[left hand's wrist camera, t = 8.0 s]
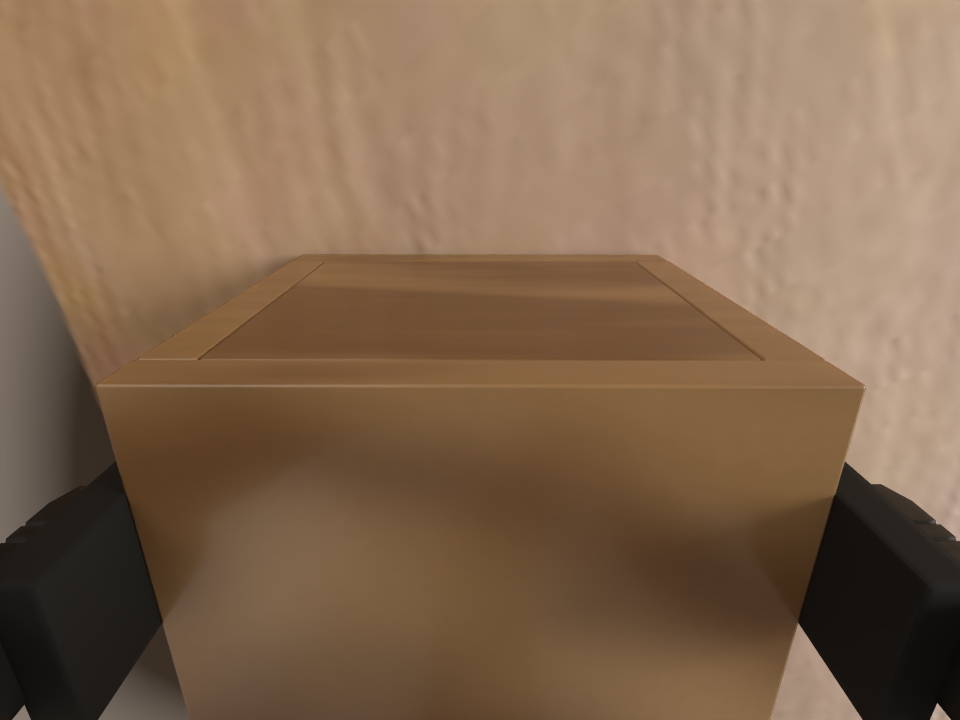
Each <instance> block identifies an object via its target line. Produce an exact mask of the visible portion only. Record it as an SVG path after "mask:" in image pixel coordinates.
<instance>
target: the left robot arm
mask: <svg viewBox="0 0 960 720" xmlns="http://www.w3.org/2000/svg"><path fill="white" fill-rule="evenodd" d="M798 623H799V624H800V626H801V627H802V629H803V630H804V632H805V633H806V635H807V636H808V638H809V640H810V641H811V643H812V644H813V646H814V647H815V649H816V650H817V652H818V653H819V655H820V656H821V658H822V659H823V661H824V662H825V664H826V665H827V667H828V668H829V670H830V671H831V673H832V674H833V676H834V677H835V679H836V680H837V682H838V683H839V685H840V686H841V688H842V689H843V691H844V692H845V694H846V695H847V697H848V698H849V700H850V701H851V703H852V704H853V706H854V707H855V709H856V710H857V712H858V713H859V715H860V716H861V718H862V719H863V720H930V718H931V716H932V713H933V711H934V709H935V707H936V704H937V703H938V704H939V705H940V707H941V708H942V709H943V710H944V711H945V713H946V714H947V715H948V716H949V718H950V719H951V720H960V541H956V537H955V536H954V535H953V534H951V533H950V532H949V531H948V530H947V529H945V528H944V527H943V526H942V525H940V524H936V520H934V519H933V518H932V517H931V516H930V515H928V514H927V513H926V512H925V511H924V510H922V509H921V508H920V507H919V506H917V505H916V504H915V503H914V502H913V501H911V500H909V499H907V498H906V497H904V496H902V495H900V494H898V493H896V492H894V491H892V490H891V489H889V488H887V487H885V486H883V485H881V484H870V483H869V482H868V481H867V480H866V479H864V478H863V477H862V476H861V475H860V474H859V473H858V472H856V471H855V470H854V469H853V468H852V467H851V466H850V465H848V464H847V463H846V462H844V466H843V469H842V473H841V476H840V480H839V483H838V487H837V490H836V493H835V497H834V500H833V504H832V507H831V511H830V514H829V518H828V521H827V525H826V528H825V532H824V535H823V538H822V542H821V545H820V549H819V552H818V556H817V559H816V563H815V566H814V570H813V573H812V577H811V580H810V583H809V587H808V590H807V594H806V597H805V601H804V604H803V608H802V611H801V615H800V618H799V622H798ZM161 624H162V620H161V616H160V613H159V609H158V606H157V602H156V599H155V595H154V592H153V588H152V585H151V581H150V578H149V574H148V571H147V567H146V564H145V560H144V557H143V553H142V550H141V546H140V543H139V539H138V536H137V532H136V529H135V525H134V522H133V518H132V515H131V511H130V507H129V504H128V500H127V497H126V493H125V490H124V486H123V483H122V479H121V476H120V472H119V469H118V465H117V462H115V463H113V464H112V465H111V466H110V467H109V468H108V469H107V470H105V471H104V472H103V473H102V474H101V475H100V476H98V477H97V478H96V479H95V480H94V481H93V482H92V483H90V484H89V485H88V486H80V487H78V488H76V489H74V490H72V491H70V492H69V493H67V494H65V495H63V496H61V497H59V498H57V499H56V500H54V501H52V502H50V503H49V504H47V505H46V506H45V507H44V508H43V509H41V510H40V511H39V512H38V513H37V514H35V515H34V516H33V517H32V518H31V519H29V520H28V521H27V522H26V525H25V526H21V527H20V528H19V529H17V530H16V531H15V532H14V533H13V534H11V535H10V536H9V537H8V538H7V539H6V542H5V543H1V544H0V720H12V719H13V718H14V717H15V715H16V714H17V713H18V712H19V710H20V709H21V708H22V707H23V706H24V705H25V707H26V709H27V711H28V714H29V716H30V718H31V720H98V719H99V717H100V716H101V714H102V713H103V711H104V710H105V708H106V707H107V705H108V704H109V702H110V701H111V699H112V698H113V696H114V695H115V693H116V692H117V690H118V689H119V687H120V686H121V684H122V682H123V681H124V679H125V678H126V677H127V675H128V674H129V672H130V670H131V669H132V668H133V666H134V664H135V663H136V661H137V660H138V658H139V657H140V655H141V654H142V652H143V651H144V649H145V648H146V646H147V645H148V643H149V642H150V640H151V639H152V637H153V636H154V634H155V633H156V631H157V630H158V628H159V627H160V625H161Z"/></svg>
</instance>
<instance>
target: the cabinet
mask: <svg viewBox="0 0 960 720" xmlns="http://www.w3.org/2000/svg"><path fill="white" fill-rule="evenodd" d="M95 388H96V392H97V395H98V399H99V402H100V406H101V409H102V413H103V416H104V420H105V423H106V427H107V430H108V434H109V437H110V441H111V444H112V448H113V451H114V455H115V458H116V462H117V465H118V469H119V472H120V476H121V479H122V483H123V486H124V490H125V493H126V497H127V500H128V504H129V507H130V511H131V515H132V518H133V522H134V525H135V529H136V532H137V536H138V539H139V543H140V546H141V550H142V553H143V557H144V560H145V564H146V567H147V571H148V574H149V578H150V581H151V585H152V588H153V592H154V595H155V599H156V602H157V606H158V609H159V613H160V616H161V620H162V623H163V627H164V630H165V634H166V637H167V641H168V644H169V648H170V651H171V655H172V658H173V662H174V665H175V669H176V672H177V676H178V679H179V683H180V686H181V690H182V693H183V697H184V700H185V704H186V708H187V711H188V715H189V718H190V720H770V719H771V715H772V712H773V708H774V705H775V701H776V698H777V694H778V691H779V687H780V684H781V680H782V677H783V674H784V670H785V667H786V663H787V660H788V656H789V653H790V649H791V646H792V642H793V639H794V635H795V632H796V629H797V625H798V622H799V618H800V615H801V611H802V608H803V604H804V601H805V597H806V594H807V590H808V587H809V583H810V580H811V577H812V573H813V570H814V566H815V563H816V559H817V556H818V552H819V549H820V545H821V542H822V538H823V535H824V532H825V528H826V525H827V521H828V518H829V514H830V511H831V507H832V504H833V500H834V497H835V493H836V490H837V487H838V483H839V480H840V476H841V473H842V469H843V466H844V462H845V459H846V455H847V452H848V448H849V445H850V441H851V438H852V435H853V431H854V428H855V424H856V421H857V417H858V414H859V410H860V407H861V403H862V400H863V396H864V393H865V390H866V387H865V385H864V384H863V383H861V382H859V381H858V380H856V379H855V378H853V377H851V376H850V375H848V374H847V373H845V372H844V371H842V370H840V369H839V368H837V367H836V366H834V365H832V364H831V363H829V362H827V361H825V359H823V358H822V357H820V356H819V355H817V354H816V353H814V352H812V351H811V350H809V349H808V348H806V347H804V346H803V345H801V344H800V343H798V342H796V341H795V340H793V339H792V338H790V337H788V336H787V335H785V334H784V333H782V332H781V331H779V330H777V329H776V328H774V327H773V326H771V325H769V324H768V323H766V322H765V321H763V320H761V319H760V318H758V317H757V316H755V315H753V314H752V313H750V312H749V311H747V310H746V309H744V308H742V307H741V306H739V305H738V304H736V303H734V302H733V301H731V300H730V299H728V298H726V297H725V296H723V295H722V294H720V293H719V292H717V291H715V290H714V289H712V288H711V287H709V286H707V285H706V284H704V283H703V282H701V281H699V280H698V279H696V278H695V277H693V276H691V275H690V274H688V273H687V272H685V271H684V270H682V269H680V268H679V267H677V266H676V265H674V264H672V263H671V262H669V261H666V260H665V259H663V258H662V257H660V256H658V255H301V256H300V257H298V258H297V259H295V260H293V261H292V262H290V263H288V264H287V265H285V266H283V267H282V268H280V269H279V270H277V271H275V272H274V273H272V274H271V275H269V276H268V277H266V278H264V279H263V280H261V281H260V282H258V283H256V284H255V285H253V286H252V287H250V288H248V289H247V290H245V291H244V292H242V293H241V294H239V295H237V296H236V297H234V298H233V299H231V300H229V301H228V302H226V303H225V304H223V305H221V306H220V307H218V308H217V309H215V310H214V311H212V312H210V313H209V314H207V315H206V316H204V317H202V318H201V319H199V320H198V321H196V322H194V323H193V324H191V325H190V326H188V327H186V328H185V329H183V330H182V331H180V332H179V333H177V334H175V335H174V336H172V337H171V338H169V339H167V340H166V341H164V342H163V343H161V344H159V345H158V346H156V347H155V348H153V349H152V350H150V351H148V352H147V353H145V354H144V355H142V356H140V357H139V358H138V359H137V360H134V361H132V362H130V363H129V364H127V365H126V366H124V367H122V368H121V369H119V370H118V371H116V372H115V373H113V374H111V375H110V376H108V377H107V378H105V379H103V380H102V381H100V382H99V383H97V384H96V387H95Z"/></svg>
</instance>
